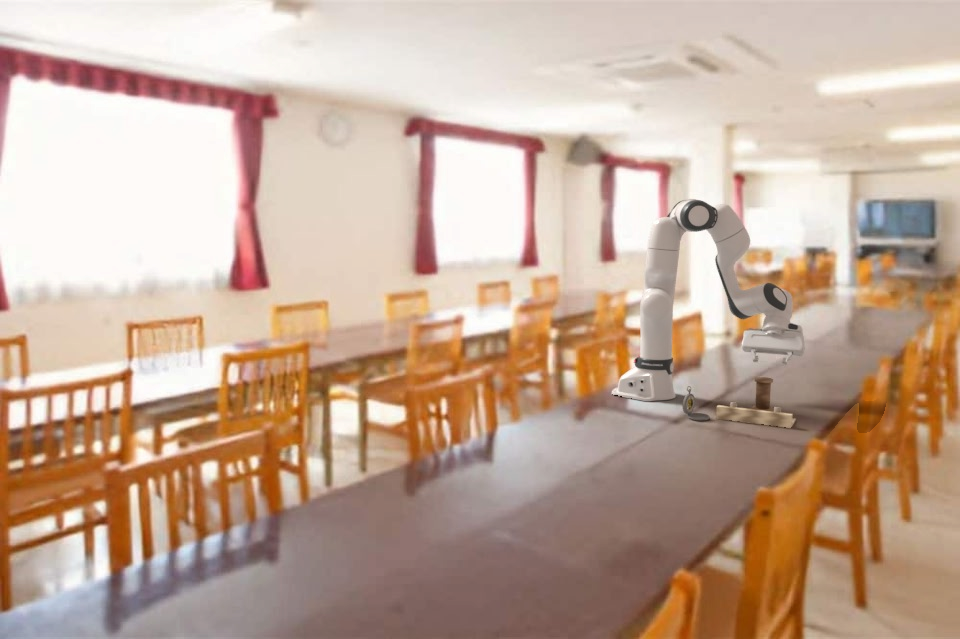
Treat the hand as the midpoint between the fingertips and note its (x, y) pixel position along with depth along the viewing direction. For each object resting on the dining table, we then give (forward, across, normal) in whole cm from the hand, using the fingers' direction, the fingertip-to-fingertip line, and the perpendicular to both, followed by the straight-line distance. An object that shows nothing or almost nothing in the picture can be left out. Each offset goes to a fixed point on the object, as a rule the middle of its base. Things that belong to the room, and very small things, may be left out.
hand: (769, 362), depth 240 cm
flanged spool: (+18, 0, +2) cm, 18 cm away
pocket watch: (+31, -17, -11) cm, 37 cm away
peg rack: (+26, 0, -6) cm, 27 cm away
